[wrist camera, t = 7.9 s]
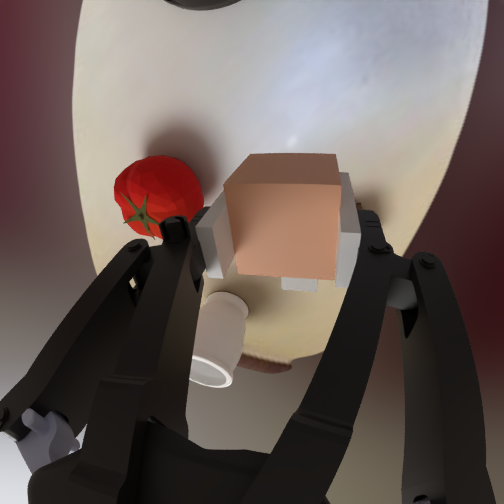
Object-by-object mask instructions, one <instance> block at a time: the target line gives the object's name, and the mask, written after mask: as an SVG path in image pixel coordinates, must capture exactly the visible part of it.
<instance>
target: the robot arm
mask: <svg viewBox="0 0 504 504" xmlns="http://www.w3.org/2000/svg"><path fill="white" fill-rule="evenodd" d="M164 1H166V2H168V3H170V4H172V5H175V6H178V7H181V8H184V9H188V10H199V11H201V10H213V9H218V8H222V7H226V6H229V5H231V4H234V3H236V2H238V1H241V0H164ZM339 175H340V180H341V205H340V208H339V222H338V236H337V249H336V260H335V265H336V275H335V287H340V288H348V289H347V292H346V295H345V298H344V301H343V304H342V306H341V309H340V312H339V315H338V317H337V320H336V323H335V325H334V328H333V331H332V333H331V336H330V338H329V341H328V343H327V346H326V348H325V351H324V353H323V355H322V358H321V360H320V363H319V365H318V367H317V370H316V372H315V374H314V376H313V378H312V381H311V383H310V385H309V387H308V390H307V392H306V394H305V396H304V398H303V400H302V402H301V404H300V406H299V408H298V409H297V411H296V412H295V413H293V415H292V416H291V418H290V420H289V421H288V423H287V425H286V427H285V429H284V430H283V433H282V434H281V436H280V438H279V440H278V442H277V443H276V445H275V447H274V448H273V450H272V452H271V454H267V453H261V452H256V451H250V450H211V449H204V448H202V447H200V446H198V445H197V444H195V443H193V442H192V441H190V440H188V424H187V421H186V416H185V412H186V403H187V394H188V386H189V378H190V371H191V363H192V356H193V349H194V342H195V335H196V329H197V322H198V316H199V309H200V303H201V297H202V291H203V285H204V279H203V276H202V274H203V272H204V270H205V268H206V271H207V275H208V278H219V279H224V277H225V274H226V272H227V270H228V268H229V266H230V264H231V262H232V259H233V257H234V255H235V252H234V246H233V240H232V234H231V228H230V222H229V216H228V210H227V205H226V199H225V192H224V190H223V192H222V193H221V194H220V196H219V197H218V198H217V199H216V201H215V202H214V203H213V204H212V206H210V207H204V208H202V209H201V210H199V211H198V212H197V213H196V214H195V215H194V217H193V218H192V219H191V221H190V222H189V223H188V220H187V218H186V217H185V216H182V215H175V216H171V217H168V218H166V219H164V220H162V221H161V222H160V223H159V224H158V225H159V228H160V232H161V235H162V238H163V242H162V245H158V246H152V247H149V245H148V242H147V241H146V240H145V239H135V240H132V241H130V242H129V243H127V244H126V245H125V246H124V247H123V248H122V249H121V250H120V251H119V252H118V253H117V254H116V255H115V257H114V258H113V259H112V260H111V261H110V262H109V263H108V265H107V266H106V267H105V268H104V269H103V270H102V272H101V273H100V274H99V275H98V276H97V278H96V279H95V280H94V281H93V282H92V283H91V285H90V286H89V287H88V288H87V290H86V291H85V292H84V293H83V295H82V296H81V297H80V299H79V300H78V301H77V302H76V304H75V305H74V306H73V307H72V309H71V310H70V311H69V313H68V314H67V315H66V317H65V318H64V319H63V321H62V322H61V323H60V325H59V326H58V327H57V329H56V330H55V332H54V333H53V334H52V336H51V337H50V339H49V340H48V342H47V343H46V344H45V346H44V347H43V349H42V350H41V352H40V353H39V355H38V356H37V358H36V359H35V361H34V363H33V364H32V366H31V367H30V369H29V371H28V372H27V374H26V375H25V377H23V378H22V379H21V380H20V381H19V382H18V383H17V384H16V385H15V386H14V387H13V388H12V389H11V390H10V392H9V393H7V395H6V396H5V397H4V398H3V399H2V400H1V401H0V432H1V433H3V434H4V435H5V436H7V437H9V438H10V439H12V440H13V441H14V442H16V444H17V446H18V448H19V450H20V452H21V454H22V456H23V458H24V460H25V461H26V464H27V466H28V468H29V469H30V471H31V473H32V476H31V478H30V480H29V483H28V502H29V503H28V504H330V502H329V501H328V499H327V498H326V496H325V495H326V493H327V491H328V489H329V487H330V485H331V483H332V481H333V479H334V477H335V475H336V472H337V470H338V468H339V466H340V464H341V461H342V459H343V457H344V454H345V452H346V450H347V447H348V444H349V442H350V439H351V436H352V433H353V425H354V422H355V419H356V416H357V413H358V410H359V408H360V404H361V402H362V398H363V395H364V392H365V389H366V386H367V382H368V379H369V376H370V372H371V368H372V365H373V361H374V357H375V353H376V349H377V345H378V340H379V336H380V332H381V327H382V323H383V318H384V313H385V307H386V305H388V306H391V307H395V308H397V316H398V324H399V331H400V340H401V349H402V359H403V372H404V390H405V445H404V461H403V474H402V489H401V490H402V504H496V501H495V497H494V493H493V489H492V486H491V482H490V478H489V475H488V471H487V468H486V443H485V441H486V440H485V427H484V416H483V407H482V400H481V394H480V387H479V382H478V376H477V372H476V366H475V362H474V358H473V354H472V349H471V345H470V342H469V338H468V334H467V331H466V327H465V324H464V321H463V318H462V315H461V312H460V308H459V305H458V303H457V300H456V297H455V294H454V292H453V289H452V286H451V283H450V281H449V279H448V276H447V273H446V271H445V268H444V266H443V264H442V262H441V261H440V259H439V258H438V257H436V256H435V255H433V254H431V253H427V252H418V253H415V254H414V256H413V257H412V260H411V259H407V258H404V257H401V256H398V255H396V254H394V251H393V248H392V246H391V245H390V244H389V243H387V242H386V240H385V237H384V233H383V230H382V228H381V223H380V220H379V217H378V215H377V214H376V213H375V212H374V211H371V210H357V209H356V204H355V199H354V194H353V190H352V186H351V181H350V177H349V173H345V172H339ZM132 277H133V279H134V281H135V284H136V285H135V287H134V288H132V287H131V285H130V283H129V281H130V280H131V279H132ZM86 424H87V427H86V431H85V435H84V439H83V444H82V448H81V449H79V448H80V443H79V441H78V440H77V439H76V437H77V436H78V434H79V433H80V432H81V431H82V430H83V428H84V427H85V425H86ZM69 452H72V453H71V454H69ZM68 454H69V455H68Z"/></svg>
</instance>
